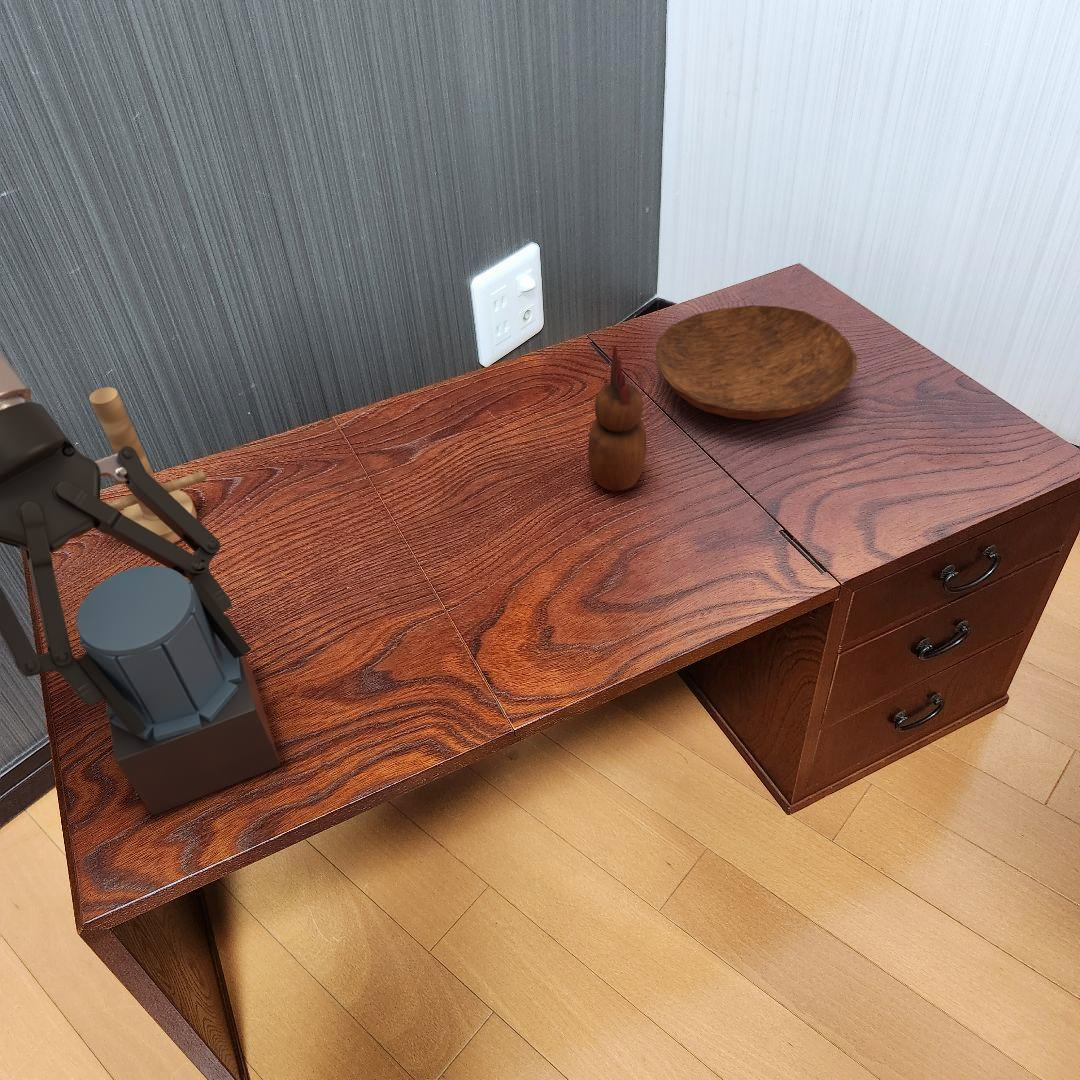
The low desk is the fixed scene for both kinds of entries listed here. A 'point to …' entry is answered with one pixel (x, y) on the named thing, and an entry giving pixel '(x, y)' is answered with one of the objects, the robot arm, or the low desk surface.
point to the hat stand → (124, 435)
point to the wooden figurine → (617, 433)
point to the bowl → (755, 361)
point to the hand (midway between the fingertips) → (192, 691)
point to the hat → (158, 650)
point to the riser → (200, 752)
